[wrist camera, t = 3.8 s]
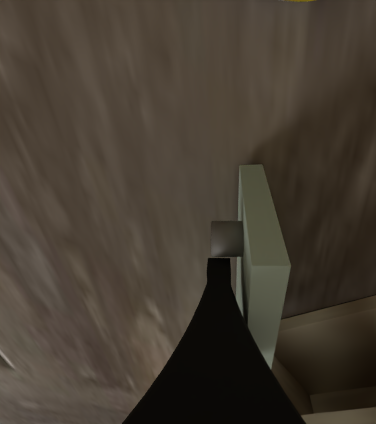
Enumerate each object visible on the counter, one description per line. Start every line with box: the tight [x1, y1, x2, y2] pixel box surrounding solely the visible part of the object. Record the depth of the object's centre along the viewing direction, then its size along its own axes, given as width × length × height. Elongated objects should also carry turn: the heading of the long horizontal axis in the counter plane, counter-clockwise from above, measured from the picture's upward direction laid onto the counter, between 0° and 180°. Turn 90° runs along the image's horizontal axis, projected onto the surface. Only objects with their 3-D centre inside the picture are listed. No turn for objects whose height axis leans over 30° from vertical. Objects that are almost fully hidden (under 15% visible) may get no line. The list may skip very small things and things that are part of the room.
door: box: [211, 164, 291, 369], centre depth 13 cm, size 12×2×6 cm, turn 5°
